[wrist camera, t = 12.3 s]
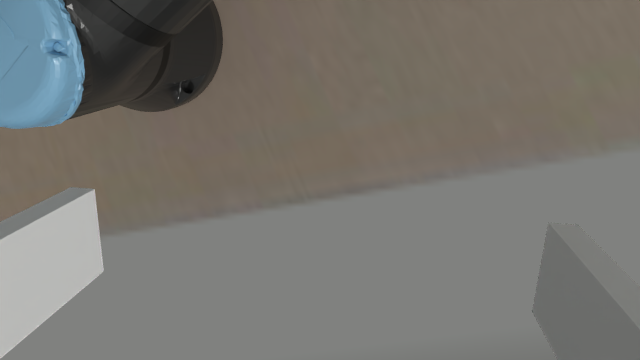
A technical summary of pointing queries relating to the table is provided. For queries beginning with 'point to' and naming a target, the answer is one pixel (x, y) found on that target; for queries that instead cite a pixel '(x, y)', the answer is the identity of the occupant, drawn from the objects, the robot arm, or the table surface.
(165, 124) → the table surface
